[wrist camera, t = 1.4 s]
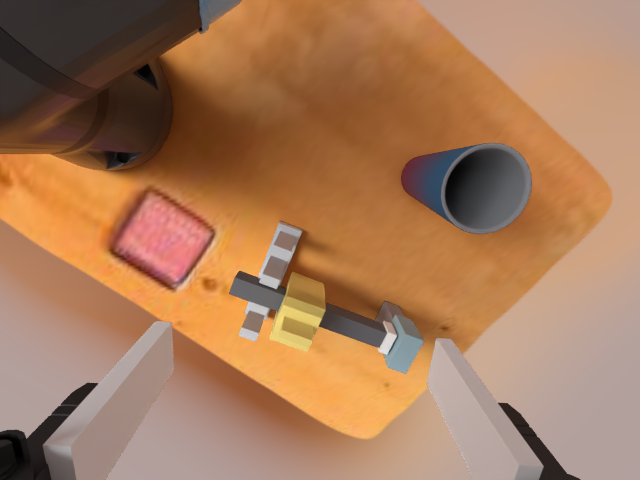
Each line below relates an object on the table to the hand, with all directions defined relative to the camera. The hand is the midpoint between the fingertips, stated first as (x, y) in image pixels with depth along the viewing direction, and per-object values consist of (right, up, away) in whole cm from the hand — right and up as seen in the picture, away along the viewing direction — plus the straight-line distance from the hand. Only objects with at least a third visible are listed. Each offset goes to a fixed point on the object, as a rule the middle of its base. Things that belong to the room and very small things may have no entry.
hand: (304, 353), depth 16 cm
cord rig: (+2, -1, +26) cm, 26 cm away
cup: (+13, +13, +23) cm, 29 cm away
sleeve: (-1, -1, +21) cm, 21 cm away
